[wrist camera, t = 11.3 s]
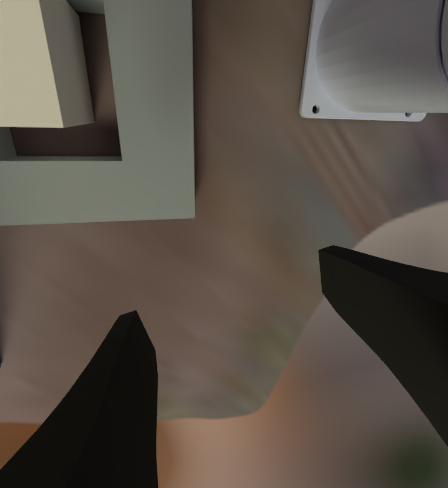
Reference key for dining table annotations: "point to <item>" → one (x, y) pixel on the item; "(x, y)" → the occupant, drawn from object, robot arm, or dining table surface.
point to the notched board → (121, 130)
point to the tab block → (42, 66)
